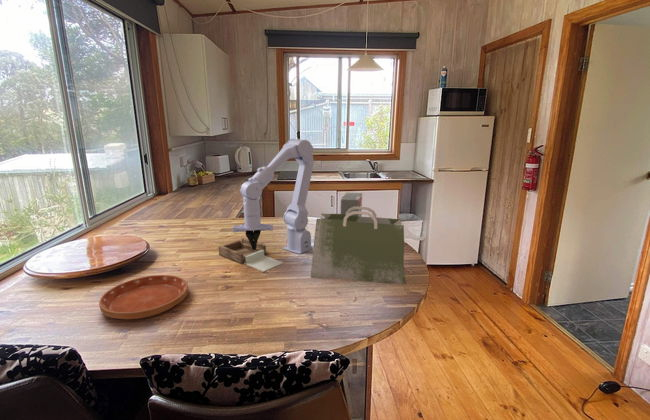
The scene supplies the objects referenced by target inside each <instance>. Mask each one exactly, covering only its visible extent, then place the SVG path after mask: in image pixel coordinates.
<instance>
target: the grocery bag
mask: <svg viewBox="0 0 650 420" xmlns="http://www.w3.org/2000/svg"><path fill="white" fill-rule="evenodd" d="M355 209H362V211H352V210H355ZM363 210H364V211H363ZM350 211H352V212H350ZM367 211H368V212H367ZM349 212H350V213H349ZM353 214H362V215H364V216H362V217H359V216H352V215H353ZM313 239H314V241H313V247H312V249H313V250H312V259H311V260H312V261H311V270H310V271H311V273H310V278H331V279H342V280H351V281H357V282H358V281H361V282H368V283H369V282H370V283H377V284H378V283H379V284H406V285H407V279H406V273H405V265H404V261H405V225H402V220H401V219H399V218H390V217H389V218H388V217H387V218H386V217H377V214H376V212H375V211H374V210H373V209H372V208H370V207H367V206H362V207H352V208H349V209H348V210H347V212H346V215H344V214H341V213H320V218H316V223H315V230H314V238H313Z"/></svg>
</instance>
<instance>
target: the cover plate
mask: <svg viewBox="0 0 650 420" xmlns="http://www.w3.org/2000/svg"><path fill="white" fill-rule="evenodd" d="M245 261H246V262H245V263H243V265H247V266H248V267H251V268H254V269H255V270H258V271H260V272H263V273H264V272H267V271H269V270H271V269H274V268H275V267H278V266H281V265H282V264H284V262H283V261H280V260H277V259H275V258H272V257H270V256H267V255H264V250H260V251H257V252H255V253H252V254H249V255H247V256H245Z"/></svg>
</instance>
